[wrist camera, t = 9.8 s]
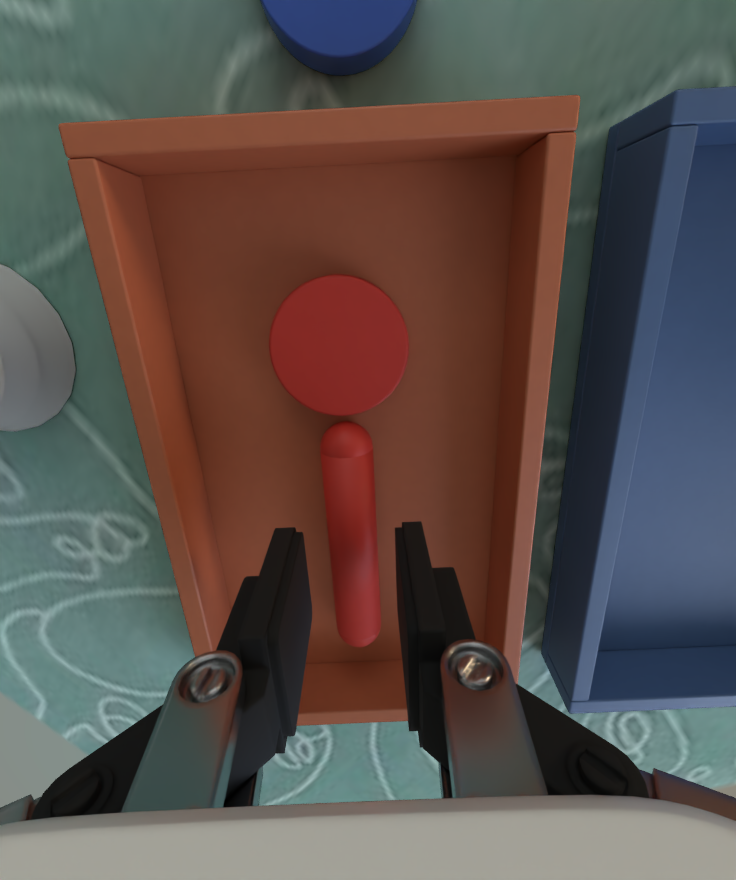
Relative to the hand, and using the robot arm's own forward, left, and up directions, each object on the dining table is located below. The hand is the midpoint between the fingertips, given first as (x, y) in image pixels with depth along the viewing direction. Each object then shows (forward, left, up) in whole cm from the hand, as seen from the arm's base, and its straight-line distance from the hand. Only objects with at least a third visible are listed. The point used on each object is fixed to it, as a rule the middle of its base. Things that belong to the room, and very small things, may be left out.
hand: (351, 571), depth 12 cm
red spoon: (-2, 0, -2) cm, 3 cm away
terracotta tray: (-2, 0, -3) cm, 3 cm away
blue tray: (-2, +12, -3) cm, 12 cm away
